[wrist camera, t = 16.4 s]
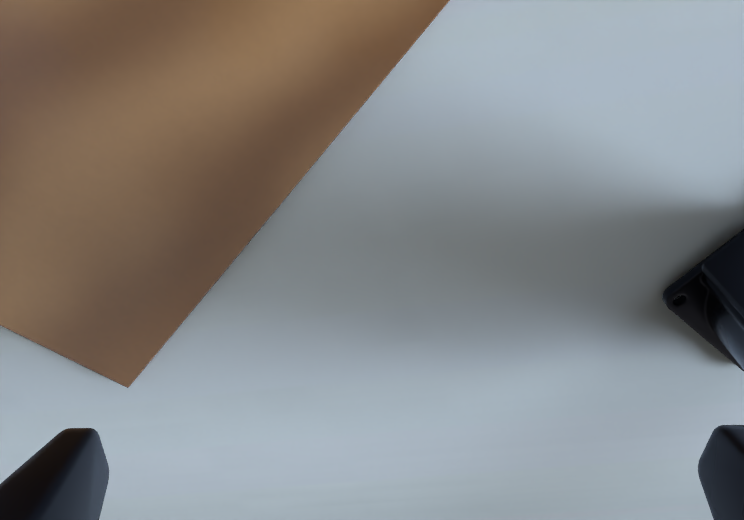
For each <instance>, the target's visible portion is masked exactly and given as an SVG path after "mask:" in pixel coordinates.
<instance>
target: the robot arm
mask: <svg viewBox="0 0 744 520" xmlns="http://www.w3.org/2000/svg"><path fill="white" fill-rule="evenodd" d="M679 295H681V296H680V297H679V298H678V299H675V298H676V297H677V296H679ZM662 299H663V301H664V302H665V304H666V305H667V306H668V308H669V309H670V310H671V311H673V312H674V313H675V314H676V315H677V316H678V317H680V318H681V319H682V320H683V321H684V322H686V323H687V324H688V325H689V326H690V327H692V328H693V329H694V330H695V331H696V332H697V333H699V334H700V335H701V336H702V337H703V338H705V339H706V340H707V341H708V342H709V343H711V344H712V345H713V346H714V347H715V348H717V349H718V350H719V351H720V352H721V353H722V354H724V355H725V356H726V357H727V358H728V359H730V360H731V361H732V362H733V363H734V364H736V365H737V366H738V367H739V368H740V369H741V370H743V371H744V229H743V230H742V231H741V232H739V233H738V234H737V235H736V236H734V237H733V238H732V239H730V240H729V241H728V242H726V243H725V244H724V245H723V246H721V247H720V248H719V249H717V250H716V251H715V252H713V253H712V254H711V255H710V256H708V257H707V258H706V259H704V260H703V261H702V262H701V263H699V264H698V265H697V266H695V267H694V268H693V269H691V270H690V271H689V272H688V273H686V274H685V275H684V276H682V277H681V278H680V279H678V280H677V281H676V282H675V283H673V284H672V285H671V286H669V287H668V288H667V289H666V290H665V291H664V293H663V295H662ZM674 299H675V300H674ZM698 473H699V478H700V481H701V484H702V487H703V490H704V493H705V495H706V498H707V501H708V504H709V507H710V510H711V513H712V516H713V518H714V520H744V425H721V426H718V427H717V428H715V429H714V431H713V432H712V435H711V437H710V439H709V441H708V443H707V445H706V447H705V449H704V451H703V453H702V455H701V458H700V460H699V464H698ZM108 479H109V467H108V463H107V459H106V456H105V453H104V450H103V447H102V443H101V440H100V437H99V434H98V432H97V431H96V430H94V429H91V428H70V429H65V430H64V431H62V432H60V433H59V434H58V435H57V436H55V437H54V438H53V439H52V440H51V441H50V442H48V443H47V444H46V445H45V446H44V447H43V448H41V449H40V450H39V451H38V452H37V453H36V454H35V455H33V456H32V457H31V458H30V459H29V460H28V461H26V462H25V463H24V464H23V465H22V466H21V467H19V468H18V469H17V470H16V471H15V472H14V473H13V474H11V475H10V476H9V477H8V478H7V479H6V480H4V481H3V482H2V483H1V484H0V520H99V517H100V513H101V509H102V505H103V501H104V497H105V493H106V489H107V485H108Z"/></svg>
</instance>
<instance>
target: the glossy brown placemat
mask: <svg viewBox="0 0 744 520" xmlns="http://www.w3.org/2000/svg"><path fill="white" fill-rule="evenodd" d="M449 1H450V0H0V325H1V326H3V327H5V328H7V329H9V330H11V331H13V332H15V333H17V334H19V335H21V336H23V337H25V338H27V339H29V340H31V341H33V342H35V343H37V344H39V345H41V346H43V347H46V348H48V349H50V350H52V351H54V352H56V353H58V354H60V355H62V356H64V357H66V358H68V359H70V360H72V361H74V362H76V363H78V364H80V365H82V366H84V367H86V368H88V369H90V370H92V371H94V372H96V373H99V374H101V375H103V376H105V377H107V378H109V379H111V380H113V381H115V382H117V383H119V384H121V385H123V386H125V387H127V388H128V387H129V386H130V385H131V384H132V383H133V382H134V380H135V379H136V378H137V377H138V375H139V374H140V373H141V372H142V371H143V369H144V368H145V367H146V366H147V365H148V363H149V362H150V361H151V360H152V359H153V357H154V356H155V355H156V354H157V353H158V351H159V350H160V349H161V348H162V347H163V345H164V344H165V343H166V342H167V341H168V339H169V338H170V337H171V336H172V334H173V333H174V332H175V331H176V330H177V328H178V327H179V326H180V325H181V324H182V322H183V321H184V320H185V319H186V318H187V316H188V315H189V314H190V313H191V312H192V310H193V309H194V308H195V307H196V306H197V304H198V303H199V302H200V301H201V300H202V298H203V297H204V296H205V295H206V293H207V292H208V291H209V290H210V289H211V287H212V286H213V285H214V284H215V283H216V281H217V280H218V279H219V278H220V277H221V275H222V274H223V273H224V272H225V271H226V269H227V268H228V267H229V266H230V265H231V263H232V262H233V261H234V260H235V259H236V257H237V256H238V255H239V254H240V253H241V251H242V250H243V249H244V248H245V246H246V245H247V244H248V243H249V242H250V240H251V239H252V238H253V237H254V236H255V234H256V233H257V232H258V231H259V230H260V228H261V227H262V226H263V225H264V224H265V222H266V221H267V220H268V219H269V218H270V216H271V215H272V214H273V213H274V212H275V210H276V209H277V208H278V207H279V205H280V204H281V203H282V202H283V201H284V199H285V198H286V197H287V196H288V195H289V193H290V192H291V191H292V190H293V189H294V187H295V186H296V185H297V184H298V183H299V181H300V180H301V179H302V178H303V177H304V175H305V174H306V173H307V172H308V171H309V169H310V168H311V167H312V166H313V164H314V163H315V162H316V161H317V160H318V158H319V157H320V156H321V155H322V154H323V152H324V151H325V150H326V149H327V148H328V146H329V145H330V144H331V143H332V142H333V140H334V139H335V138H336V137H337V136H338V134H339V133H340V132H341V131H342V130H343V128H344V127H345V126H346V125H347V123H348V122H349V121H350V120H351V119H352V117H353V116H354V115H355V114H356V113H357V111H358V110H359V109H360V108H361V107H362V105H363V104H364V103H365V102H366V101H367V99H368V98H369V97H370V96H371V95H372V93H373V92H374V91H375V90H376V89H377V87H378V86H379V85H380V84H381V82H382V81H383V80H384V79H385V78H386V76H387V75H388V74H389V73H390V72H391V70H392V69H393V68H394V67H395V66H396V64H397V63H398V62H399V61H400V60H401V58H402V57H403V56H404V55H405V54H406V52H407V51H408V50H409V49H410V48H411V46H412V45H413V44H414V43H415V42H416V40H417V39H418V38H419V37H420V35H421V34H422V33H423V32H424V31H425V29H426V28H427V27H428V26H429V25H430V23H431V22H432V21H433V20H434V19H435V17H436V16H437V15H438V14H439V13H440V11H441V10H442V9H443V8H444V7H445V5H446V4H447V3H448V2H449Z"/></svg>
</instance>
